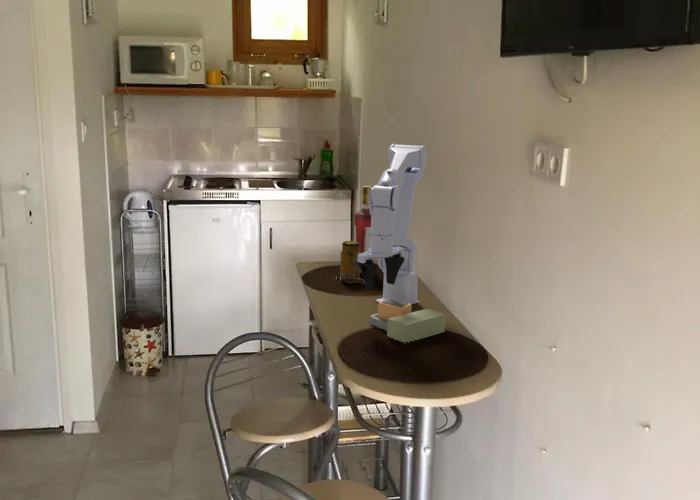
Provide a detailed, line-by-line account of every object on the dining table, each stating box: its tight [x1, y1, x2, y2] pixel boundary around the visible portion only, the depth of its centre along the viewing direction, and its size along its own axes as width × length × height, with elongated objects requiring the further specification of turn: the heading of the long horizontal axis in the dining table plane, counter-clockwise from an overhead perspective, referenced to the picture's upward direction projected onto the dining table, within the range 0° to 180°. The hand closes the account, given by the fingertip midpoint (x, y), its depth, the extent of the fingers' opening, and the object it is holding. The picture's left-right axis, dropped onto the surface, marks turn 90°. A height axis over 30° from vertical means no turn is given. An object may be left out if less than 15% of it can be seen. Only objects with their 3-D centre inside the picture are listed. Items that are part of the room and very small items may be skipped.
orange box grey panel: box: [377, 299, 413, 321], centre depth 178 cm, size 4×7×6 cm, turn 55°
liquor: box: [353, 185, 375, 275], centre depth 227 cm, size 7×7×28 cm
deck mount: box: [369, 307, 447, 344], centre depth 177 cm, size 14×16×4 cm
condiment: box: [336, 240, 361, 283], centre depth 219 cm, size 7×8×12 cm
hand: (380, 286), depth 180 cm, fingers open, 7 cm apart
